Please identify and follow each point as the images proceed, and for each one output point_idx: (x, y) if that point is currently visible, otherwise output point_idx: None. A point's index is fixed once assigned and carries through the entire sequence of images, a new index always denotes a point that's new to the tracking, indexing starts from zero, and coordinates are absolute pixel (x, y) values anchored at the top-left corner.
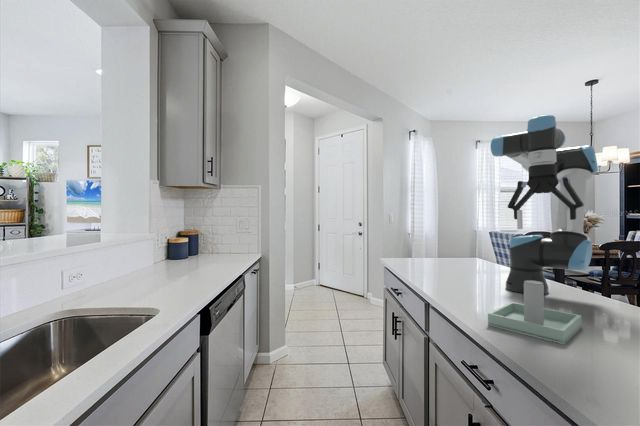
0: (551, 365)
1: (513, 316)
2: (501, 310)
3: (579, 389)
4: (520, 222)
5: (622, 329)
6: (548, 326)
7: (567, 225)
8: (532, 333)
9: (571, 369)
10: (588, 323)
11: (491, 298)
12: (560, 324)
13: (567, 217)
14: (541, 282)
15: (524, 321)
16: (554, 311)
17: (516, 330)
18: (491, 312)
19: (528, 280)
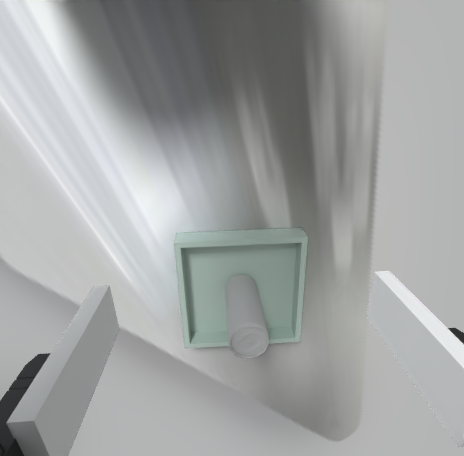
0: (296, 391)
1: (199, 275)
2: (186, 304)
3: (324, 415)
4: (101, 354)
5: (359, 181)
6: (278, 338)
7: (384, 336)
8: None
9: (313, 385)
10: (307, 189)
11: (76, 141)
12: (275, 257)
13: (417, 381)
14: (262, 332)
15: None
16: (262, 243)
17: None
18: (185, 339)
19: (234, 335)
